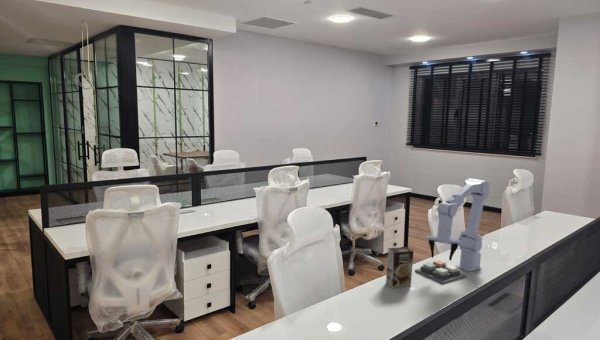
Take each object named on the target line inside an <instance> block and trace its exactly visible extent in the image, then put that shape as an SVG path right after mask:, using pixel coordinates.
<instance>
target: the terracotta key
mask: <svg viewBox="0 0 600 340" xmlns="http://www.w3.org/2000/svg"><path fill="white" fill-rule="evenodd" d="M432 262H433V263H432V264H434V265H436V266H438V267H444V266H446V265H447V263H446V262H445V261H442V260H434V261H432Z"/></svg>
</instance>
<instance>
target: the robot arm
mask: <svg viewBox="0 0 600 340" xmlns="http://www.w3.org/2000/svg"><path fill="white" fill-rule="evenodd" d="M490 188H491V186H490V183H489V181H488V180H484V179H483V180H482V179H477V178H471V177H468V178H467V179H465V181H464V184H463V187H462V188H461V189H460V190H459V191H458V193H453V194H452V195H451V196H450V197H449V198H448V199H446V201H442V202H440V203H439V204H438V207H437V209H436V210H437V211H436V212H437V215H438V216H437V217H438V224H437V225H438V226H437V234H436V236H432V235H431V236H430V235H426V242H428V244H429V245H428V246H429V248H430V252H431V254H430V255H431V258H434V249H435V243H441V244H447V245H450V251H449V258H448V260H449V261H452V258H453V257H454V254H455V252H456V251H457V250H458V247H459V250H460V259H459V260H460V261H459V264H456V265H455V267H457V268H458V269H462V270H463V271H466V272H469V273H471V272H473V271H478V270H481V269H482V267H481V256H482V255H481V252H480V251H481V250H482V247H483V237H482V236H481V234H480V233H479V232H478V231H479V227H480V222H481V220H482V219H481V218H482V214H483V208H484V204H485V200H486V199H487V198H488V197H489V192H490ZM468 196H471V198H472V202H471V207H470V212H469V217H468V221H467V226H466V229H465V230H463V231H461V232H460V235H459V237H458V239H453V238H451V235H452V230H453V229H452V228H453V221H454V217H455V216H456V214H457V212H458V210H459V208H460V207H461V206H462V205H463V204H464V203H465V199H466V198H468Z"/></svg>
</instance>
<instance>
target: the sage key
mask: <svg viewBox="0 0 600 340" xmlns="http://www.w3.org/2000/svg"><path fill="white" fill-rule="evenodd" d="M435 273H438V274H440V275H446V274H448V270H446V269H443V268H438V269H435Z"/></svg>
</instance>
